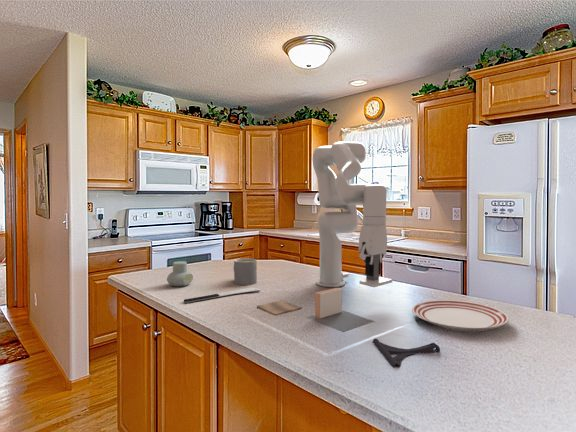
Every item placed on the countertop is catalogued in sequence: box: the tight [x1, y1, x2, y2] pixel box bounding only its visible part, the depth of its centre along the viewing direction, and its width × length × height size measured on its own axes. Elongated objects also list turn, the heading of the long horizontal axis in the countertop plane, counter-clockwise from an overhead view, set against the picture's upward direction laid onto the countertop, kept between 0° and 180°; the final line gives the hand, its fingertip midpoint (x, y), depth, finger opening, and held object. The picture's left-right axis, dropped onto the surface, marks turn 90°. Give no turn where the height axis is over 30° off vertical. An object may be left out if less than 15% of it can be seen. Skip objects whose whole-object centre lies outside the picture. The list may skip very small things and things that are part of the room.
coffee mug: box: [233, 257, 258, 286], centre depth 167 cm, size 13×10×10 cm
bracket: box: [372, 338, 441, 368], centre depth 93 cm, size 14×15×3 cm
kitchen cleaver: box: [183, 286, 261, 305], centre depth 146 cm, size 31×2×10 cm
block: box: [314, 287, 343, 319], centre depth 119 cm, size 10×2×8 cm, turn 129°
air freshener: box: [166, 260, 194, 287], centre depth 161 cm, size 11×8×10 cm
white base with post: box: [359, 254, 393, 288], centre depth 125 cm, size 6×10×11 cm, turn 129°
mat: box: [306, 309, 375, 333], centre depth 116 cm, size 14×16×1 cm
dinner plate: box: [411, 299, 510, 332], centre depth 116 cm, size 28×27×3 cm
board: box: [256, 299, 302, 316], centre depth 127 cm, size 11×11×1 cm
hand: (372, 274), depth 127 cm, fingers closed on white base with post, 3 cm apart
